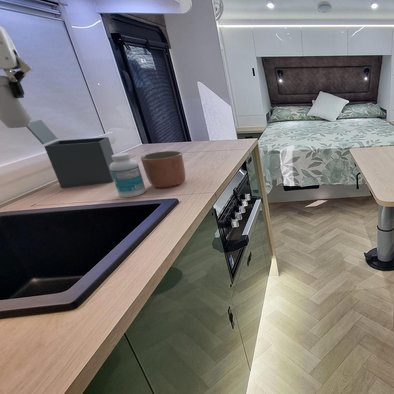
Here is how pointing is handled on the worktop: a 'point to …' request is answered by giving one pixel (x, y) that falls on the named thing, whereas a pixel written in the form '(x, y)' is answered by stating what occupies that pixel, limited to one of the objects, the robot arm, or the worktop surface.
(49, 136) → the flap
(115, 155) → the pill bottle
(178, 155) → the planter
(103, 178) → the carton
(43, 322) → the worktop surface
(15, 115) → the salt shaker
